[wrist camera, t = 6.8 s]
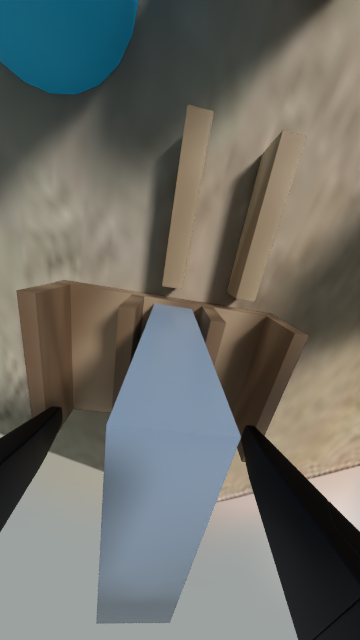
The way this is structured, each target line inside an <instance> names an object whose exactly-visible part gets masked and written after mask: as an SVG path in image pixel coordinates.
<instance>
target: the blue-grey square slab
mask: <svg viewBox="0 0 360 640" xmlns="http://www.w3.org/2000/svg"><path fill="white" fill-rule="evenodd" d="M240 439H241V436H240V433H239V430H238V428H237V425H236V423H235V420H234V417H233V415H232V412H231V409H230V407H229V404H228V402H227V399H226V396H225V394H224V391H223V389H222V386H221V383H220V381H219V378H218V376H217V373H216V370H215V368H214V365H213V363H212V360H211V357H210V355H209V352H208V349H207V347H206V344H205V342H204V339H203V336H202V334H201V331H200V329H199V326H198V323H197V321H196V318H195V316H194V313H193V310H192V309H188V308H182V307H175V306H169V305H163V304H156V303H155V304H154V306H153V309H152V311H151V314H150V316H149V319H148V321H147V324H146V326H145V329H144V331H143V334H142V337H141V339H140V342H139V344H138V347H137V349H136V352H135V354H134V357H133V359H132V362H131V364H130V367H129V369H128V372H127V374H126V377H125V379H124V382H123V384H122V387H121V389H120V392H119V394H118V397H117V399H116V402H115V404H114V407H113V410H112V412H111V415H110V417H109V420H108V422H107V425H106V443H105V463H104V483H103V503H102V523H101V543H100V563H99V583H98V584H99V585H98V603H97V623H170V621H171V618H172V615H173V613H174V610H175V608H176V605H177V602H178V600H179V597H180V595H181V592H182V589H183V587H184V584H185V581H186V579H187V576H188V574H189V571H190V569H191V566H192V563H193V561H194V558H195V556H196V553H197V550H198V548H199V545H200V542H201V540H202V537H203V535H204V532H205V530H206V527H207V524H208V522H209V519H210V516H211V514H212V511H213V509H214V506H215V504H216V501H217V498H218V496H219V493H220V491H221V488H222V485H223V483H224V480H225V478H226V475H227V472H228V470H229V467H230V465H231V462H232V459H233V457H234V454H235V452H236V449H237V446H238V444H239V441H240Z"/></svg>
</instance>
